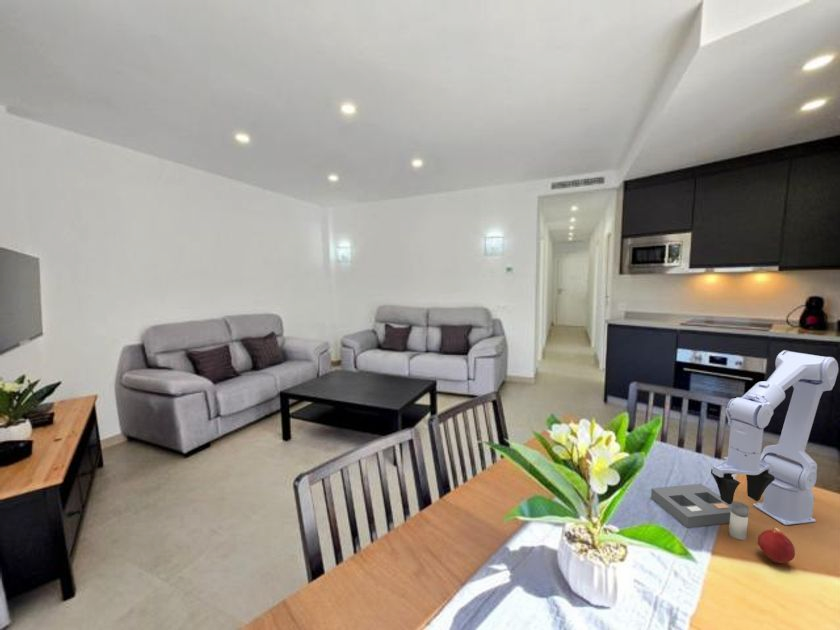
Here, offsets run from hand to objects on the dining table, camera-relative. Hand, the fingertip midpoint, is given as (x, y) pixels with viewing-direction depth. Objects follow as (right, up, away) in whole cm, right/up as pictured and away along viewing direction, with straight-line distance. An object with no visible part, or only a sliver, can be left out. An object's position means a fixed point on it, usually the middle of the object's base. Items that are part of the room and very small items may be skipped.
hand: (739, 500), depth 85 cm
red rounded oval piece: (+2, -10, -7) cm, 13 cm away
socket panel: (-3, -8, +11) cm, 14 cm away
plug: (0, -9, +1) cm, 9 cm away
